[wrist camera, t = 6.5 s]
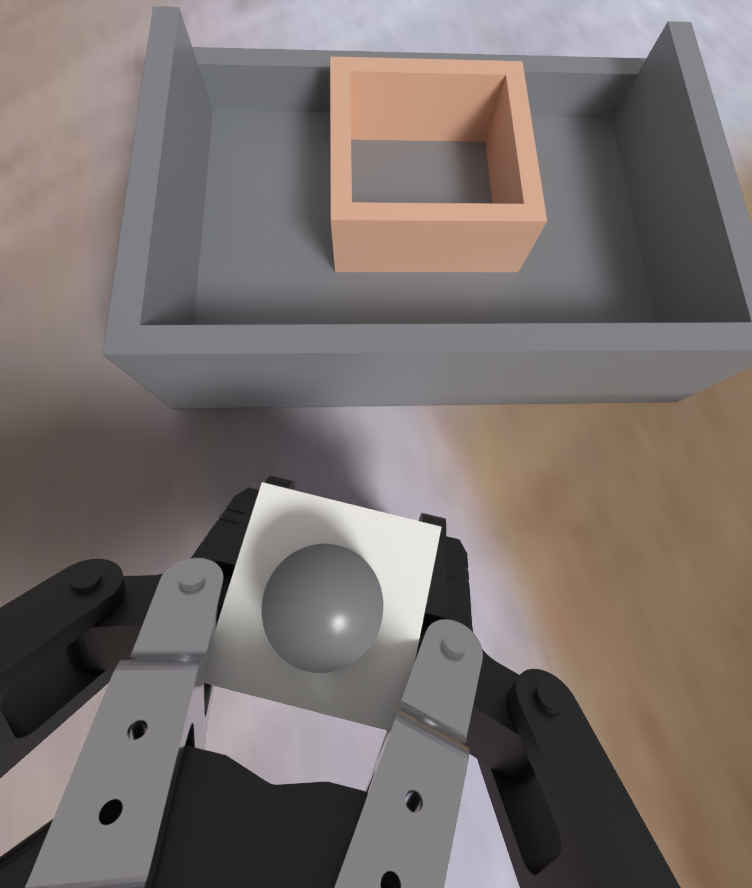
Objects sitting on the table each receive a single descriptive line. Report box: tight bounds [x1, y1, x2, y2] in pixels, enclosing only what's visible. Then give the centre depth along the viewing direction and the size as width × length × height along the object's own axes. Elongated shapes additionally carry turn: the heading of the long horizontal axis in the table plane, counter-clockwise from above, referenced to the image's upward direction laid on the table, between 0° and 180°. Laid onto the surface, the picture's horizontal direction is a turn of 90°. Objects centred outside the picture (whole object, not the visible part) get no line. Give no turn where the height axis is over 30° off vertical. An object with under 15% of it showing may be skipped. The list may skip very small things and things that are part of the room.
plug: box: [204, 482, 441, 731], centre depth 12 cm, size 4×4×9 cm
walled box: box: [103, 7, 752, 409], centre depth 18 cm, size 22×16×5 cm
